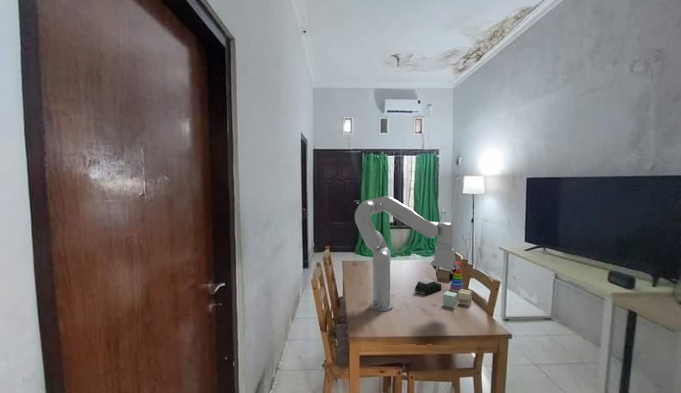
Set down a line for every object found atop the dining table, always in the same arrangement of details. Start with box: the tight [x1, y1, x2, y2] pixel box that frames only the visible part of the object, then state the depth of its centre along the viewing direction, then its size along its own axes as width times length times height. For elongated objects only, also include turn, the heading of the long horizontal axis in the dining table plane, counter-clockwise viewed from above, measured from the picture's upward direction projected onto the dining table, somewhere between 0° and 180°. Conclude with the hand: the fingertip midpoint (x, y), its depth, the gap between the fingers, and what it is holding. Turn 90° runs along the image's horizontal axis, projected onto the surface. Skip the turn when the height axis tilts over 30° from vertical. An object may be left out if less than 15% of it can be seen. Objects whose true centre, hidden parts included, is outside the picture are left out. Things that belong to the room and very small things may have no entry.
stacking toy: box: [449, 261, 464, 293], centre depth 192 cm, size 8×8×19 cm
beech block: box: [457, 289, 473, 306], centre depth 174 cm, size 6×6×6 cm
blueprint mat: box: [441, 300, 474, 309], centre depth 171 cm, size 20×17×1 cm
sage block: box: [442, 290, 458, 308], centre depth 171 cm, size 6×6×6 cm
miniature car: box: [414, 278, 442, 296], centre depth 192 cm, size 9×18×8 cm, turn 127°
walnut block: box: [436, 267, 451, 285], centre depth 162 cm, size 6×6×6 cm
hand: (444, 279), depth 162 cm, fingers closed on walnut block, 6 cm apart
